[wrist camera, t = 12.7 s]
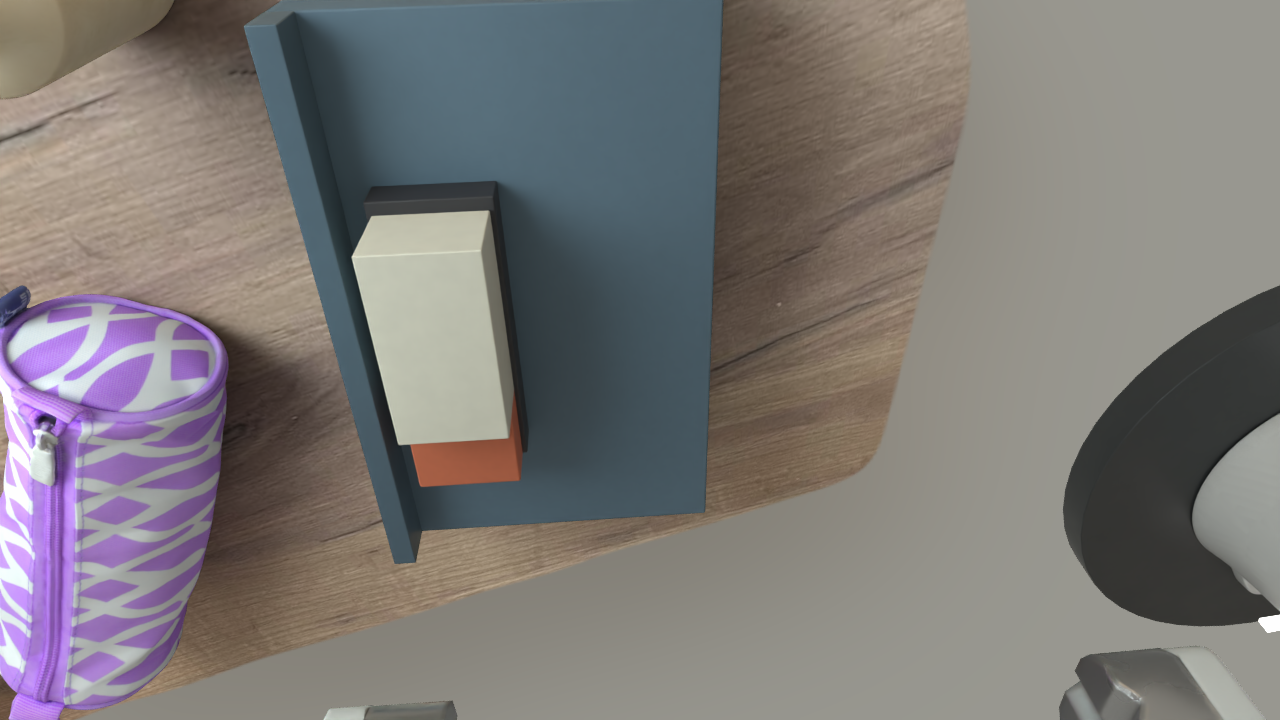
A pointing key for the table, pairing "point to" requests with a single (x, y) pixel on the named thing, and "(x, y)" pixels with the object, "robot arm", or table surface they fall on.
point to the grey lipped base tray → (524, 225)
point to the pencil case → (102, 493)
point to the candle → (65, 36)
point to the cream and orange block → (445, 329)
